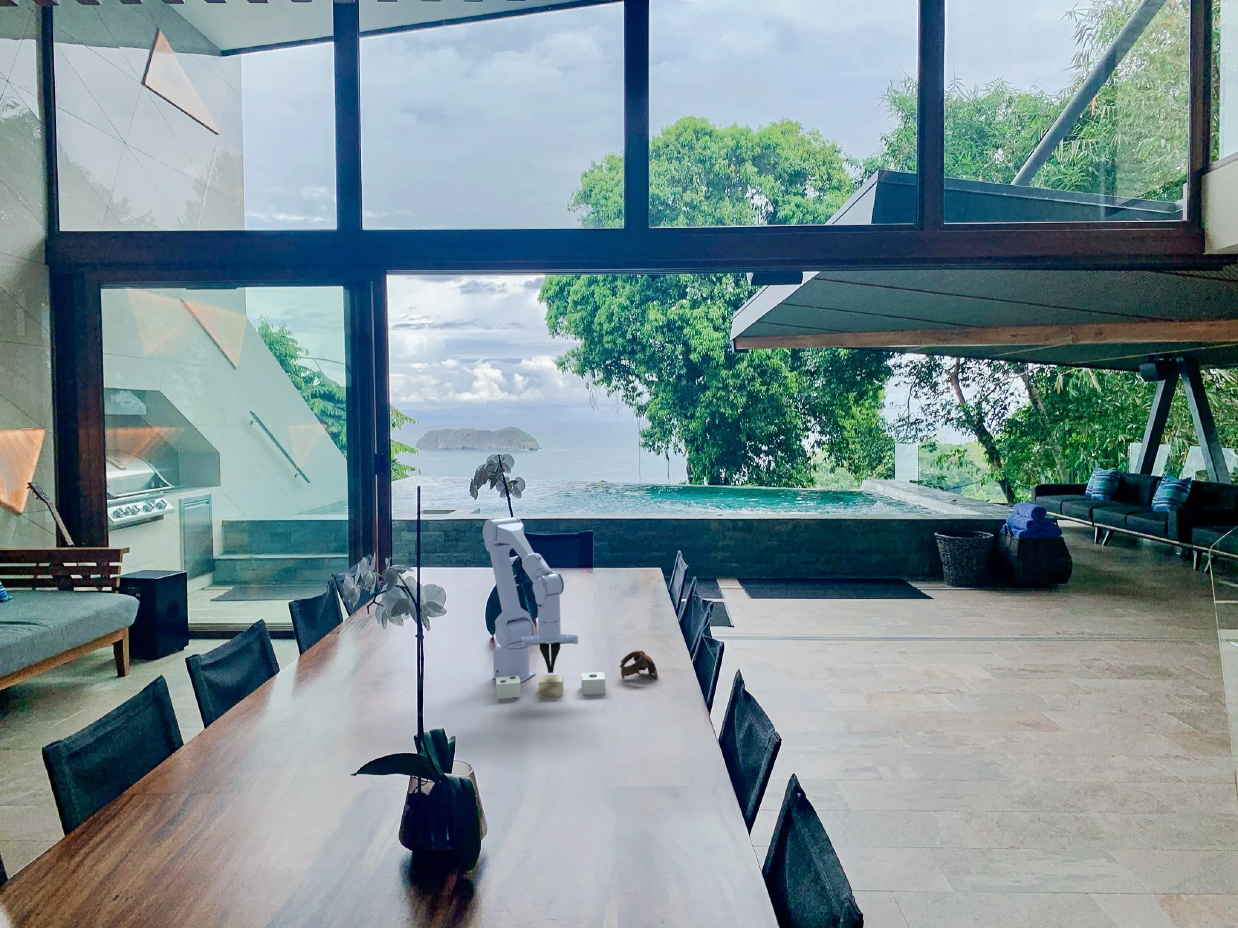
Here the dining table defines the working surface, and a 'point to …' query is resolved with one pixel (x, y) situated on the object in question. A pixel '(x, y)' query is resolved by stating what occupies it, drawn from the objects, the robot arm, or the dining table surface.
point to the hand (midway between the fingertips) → (550, 671)
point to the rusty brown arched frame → (638, 664)
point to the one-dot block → (593, 683)
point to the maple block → (551, 685)
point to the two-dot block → (508, 687)
